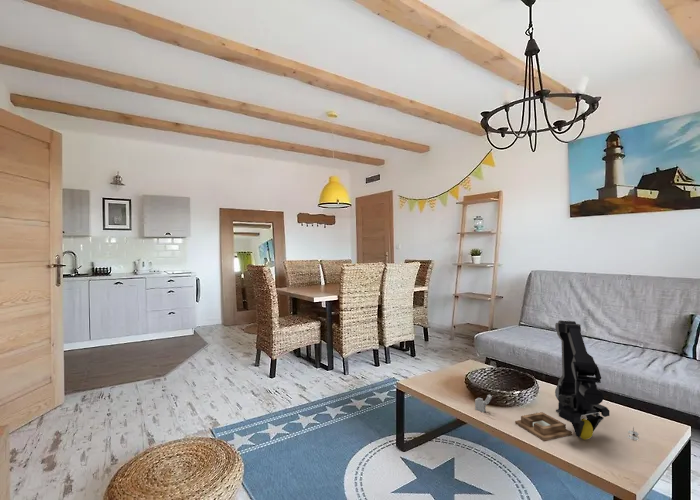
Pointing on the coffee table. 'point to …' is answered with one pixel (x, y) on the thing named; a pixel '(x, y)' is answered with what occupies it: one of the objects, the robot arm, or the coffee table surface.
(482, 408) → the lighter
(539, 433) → the tray
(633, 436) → the car cutout
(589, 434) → the lemon
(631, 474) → the coffee table surface
